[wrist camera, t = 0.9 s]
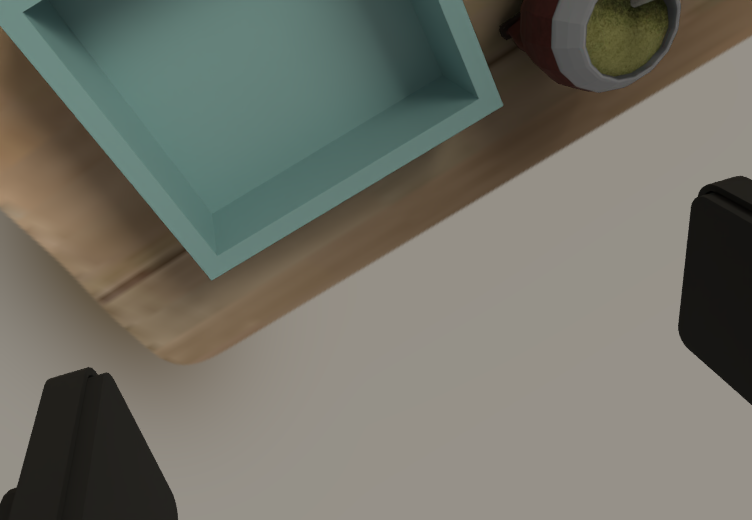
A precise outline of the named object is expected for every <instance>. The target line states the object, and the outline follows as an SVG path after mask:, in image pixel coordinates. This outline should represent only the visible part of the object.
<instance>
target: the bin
mask: <svg viewBox="0 0 752 520" xmlns="http://www.w3.org/2000/svg"><path fill="white" fill-rule="evenodd" d="M0 26H1V27H2V28H3V30H4V31H5V32H6V33H7V35H8V36H9V37H10V38H11V39H12V41H13V42H14V43H15V44H16V45H17V47H18V48H19V49H20V50H21V51H22V53H23V54H24V55H25V56H26V57H27V59H28V60H29V61H30V62H31V63H32V65H33V66H34V67H35V68H36V69H37V71H38V72H39V73H40V74H41V76H42V77H43V78H44V79H45V80H46V82H47V83H48V84H49V85H50V86H51V88H52V89H53V90H54V91H55V92H56V94H57V95H58V96H59V97H60V98H61V100H62V101H63V102H64V103H65V104H66V106H67V107H68V108H69V109H70V110H71V112H72V113H73V114H74V115H75V116H76V118H77V119H78V120H79V121H80V123H81V124H82V125H83V126H84V127H85V129H86V130H87V131H88V132H89V133H90V135H91V136H92V137H93V138H94V139H95V141H96V142H97V143H98V144H99V145H100V147H101V148H102V149H103V150H104V151H105V153H106V154H107V155H108V156H109V157H110V159H111V160H112V161H113V162H114V164H115V165H116V166H117V167H118V168H119V170H120V171H121V172H122V173H123V174H124V176H125V177H126V178H127V179H128V180H129V182H130V183H131V184H132V185H133V186H134V188H135V189H136V190H137V191H138V192H139V194H140V195H141V196H142V197H143V198H144V200H145V201H146V202H147V203H148V204H149V206H150V207H151V208H152V209H153V211H154V212H155V213H156V214H157V215H158V217H159V218H160V219H161V220H162V221H163V223H164V224H165V225H166V226H167V227H168V229H169V230H170V231H171V232H172V233H173V235H174V236H175V237H176V238H177V239H178V241H179V242H180V243H181V244H182V245H183V247H184V248H185V249H186V250H187V252H188V253H189V254H190V255H191V256H192V258H193V259H194V260H195V261H196V262H197V264H198V265H199V266H200V267H201V268H202V270H203V271H204V272H205V273H206V274H207V276H208V277H209V278H210V279H211V280H213V279H215V278H217V277H218V276H220V275H222V274H223V273H225V272H227V271H228V270H230V269H232V268H233V267H235V266H237V265H238V264H240V263H242V262H243V261H245V260H247V259H248V258H250V257H252V256H253V255H255V254H257V253H258V252H260V251H262V250H263V249H265V248H267V247H268V246H270V245H272V244H273V243H275V242H277V241H278V240H280V239H282V238H283V237H285V236H287V235H288V234H290V233H292V232H293V231H295V230H297V229H298V228H300V227H302V226H304V225H305V224H307V223H309V222H310V221H312V220H314V219H315V218H317V217H319V216H320V215H322V214H324V213H325V212H327V211H329V210H330V209H332V208H334V207H335V206H337V205H339V204H340V203H342V202H344V201H345V200H347V199H349V198H350V197H352V196H354V195H355V194H357V193H359V192H360V191H362V190H364V189H365V188H367V187H369V186H370V185H372V184H374V183H375V182H377V181H379V180H380V179H382V178H384V177H385V176H387V175H389V174H390V173H392V172H394V171H395V170H397V169H399V168H400V167H402V166H404V165H405V164H407V163H409V162H410V161H412V160H414V159H415V158H417V157H419V156H420V155H422V154H424V153H425V152H427V151H429V150H430V149H432V148H434V147H435V146H437V145H439V144H440V143H442V142H444V141H445V140H447V139H449V138H450V137H452V136H454V135H455V134H457V133H459V132H460V131H462V130H464V129H465V128H467V127H469V126H470V125H472V124H474V123H475V122H477V121H479V120H480V119H482V118H484V117H485V116H487V115H489V114H490V113H492V112H494V111H495V110H497V109H499V108H500V107H502V106H503V103H502V101H501V98H500V95H499V93H498V90H497V88H496V85H495V83H494V80H493V78H492V75H491V72H490V70H489V67H488V65H487V62H486V60H485V57H484V55H483V52H482V49H481V47H480V44H479V42H478V39H477V37H476V34H475V32H474V29H473V26H472V24H471V21H470V19H469V16H468V14H467V11H466V9H465V6H464V3H463V1H462V0H0Z"/></svg>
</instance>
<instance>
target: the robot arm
mask: <svg viewBox="0 0 752 520" xmlns="http://www.w3.org/2000/svg"><path fill="white" fill-rule="evenodd" d="M678 330H679V335H680V337H681V340H682V341H683V343H684V345H685V346H686V347H687V348H688V349H689V350H690V351H691V352H693V353H694V354H695V355H696V356H697V357H698V358H699V359H700V360H702V361H703V362H704V363H705V364H706V365H707V366H708V367H709V368H711V369H712V370H713V371H714V372H715V373H716V374H717V375H718V376H720V377H721V378H722V379H723V380H724V381H725V382H726V383H728V384H729V385H730V386H731V387H732V388H733V389H734V390H736V391H737V392H738V393H739V394H740V395H741V396H742V397H743V398H744V399H746V400H747V401H748V402H749V403H750V404H751V405H752V180H751V179H749V178H747V177H743V176H736V177H732V178H729V179H725V180H722V181H718V182H715V183H712V184H708V185H706V186H704V187H703V188H702V189H701V190H700V192H699V194H698V197H697V198H695V199H694V201H693V202H692V206H691V212H690V222H689V231H688V240H687V249H686V259H685V268H684V277H683V287H682V296H681V305H680V315H679V323H678ZM0 520H178V513H177V507H176V503H175V499H174V496H173V494H172V492H171V490H170V488H169V486H168V484H167V482H166V480H165V478H164V476H163V474H162V472H161V470H160V468H159V466H158V464H157V462H156V460H155V458H154V457H153V455H152V453H151V451H150V449H149V447H148V445H147V443H146V441H145V439H144V437H143V435H142V433H141V431H140V429H139V427H138V426H137V424H136V422H135V420H134V418H133V416H132V414H131V412H130V410H129V408H128V406H127V404H126V402H125V400H124V398H123V397H122V395H121V393H120V391H119V389H118V387H117V385H116V383H115V381H114V379H113V378H112V376H111V375H110V374H109V373H103V374H100V375H98V374H97V373H96V371H94V370H93V369H92V368H89V367H88V368H84V369H81V370H77V371H74V372H71V373H67V374H64V375H60V376H57V377H54V378H50V379H49V380H47V381H46V383H45V385H44V389H43V392H42V396H41V400H40V404H39V408H38V411H37V415H36V419H35V422H34V426H33V430H32V434H31V437H30V441H29V445H28V448H27V452H26V456H25V459H24V463H23V467H22V470H21V474H20V478H19V482H18V485H17V488H14V489H11V490H9V491H8V492H7V493H6V494H5V495H4V496H3V499H2V501H1V503H0Z"/></svg>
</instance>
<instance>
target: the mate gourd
mask: <svg viewBox="0 0 752 520" xmlns="http://www.w3.org/2000/svg"><path fill="white" fill-rule="evenodd" d="M680 10H681V4H680V0H523V3H522V5H521V12H520V13H519V14H517V15H516V16H514V17H513V18H511V19H509V20H508V21H506V22H505V23H504V24H502V25H501V26H500V28H499V30H500V33H501V35H502V37H503V38H504V39H506V40H508V39H510V38H513V40H514V42H515V44H516V45H517V46H518V47H519V48H520V49H521V50H523V51H524V52H526V53H527V55H528V56H529V57H530V58H531V59H532V61H533V62H534V63H535V64H536V65H537V66H538V67H539V68H541V69H542V70H543V71H544V72H545V73H546V74H547V75H548V76H549V77H550V78H551V79H553V80H554V81H555V82H557V83H558V84H562V85H565V86H569V87H573V88H576V89H580V90H584V91H594V92H598V93H599V92H604V91H609V90H614V89H619V88H624V87H626V86H628V85H630V84H631V83H633V82H635V81H636V80H638V79H639V78H641V77H642V76H644V75H646V74H647V73H649V72H650V71H651V70H652V69H654V67H655V66H656V65H657V64H658V63H659V61H660V60H661V59H662V58H663V57H664V56H665V54H666V53H667V52H668V51H669V48H670V46H671V44H672V42H673V40H674V37H675V35H676V33H677V31H678V26H679V18H680Z"/></svg>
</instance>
